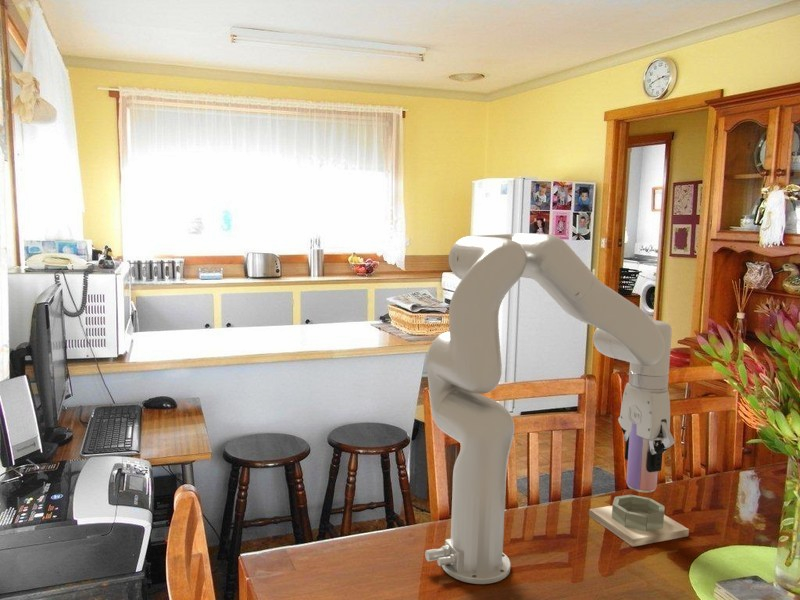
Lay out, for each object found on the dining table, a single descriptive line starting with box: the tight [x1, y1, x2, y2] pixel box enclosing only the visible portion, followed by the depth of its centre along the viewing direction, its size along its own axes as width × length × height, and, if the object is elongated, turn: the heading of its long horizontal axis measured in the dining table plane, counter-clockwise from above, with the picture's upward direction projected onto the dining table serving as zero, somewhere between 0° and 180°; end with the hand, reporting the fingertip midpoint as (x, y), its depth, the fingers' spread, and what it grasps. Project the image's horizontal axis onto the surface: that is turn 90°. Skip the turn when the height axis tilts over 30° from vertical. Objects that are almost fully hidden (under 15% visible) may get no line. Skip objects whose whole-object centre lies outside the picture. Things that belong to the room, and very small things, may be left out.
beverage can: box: [625, 422, 659, 494], centre depth 136 cm, size 6×6×15 cm
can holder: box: [588, 494, 690, 548], centre depth 137 cm, size 14×14×4 cm
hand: (642, 464), depth 136 cm, fingers closed on beverage can, 6 cm apart
